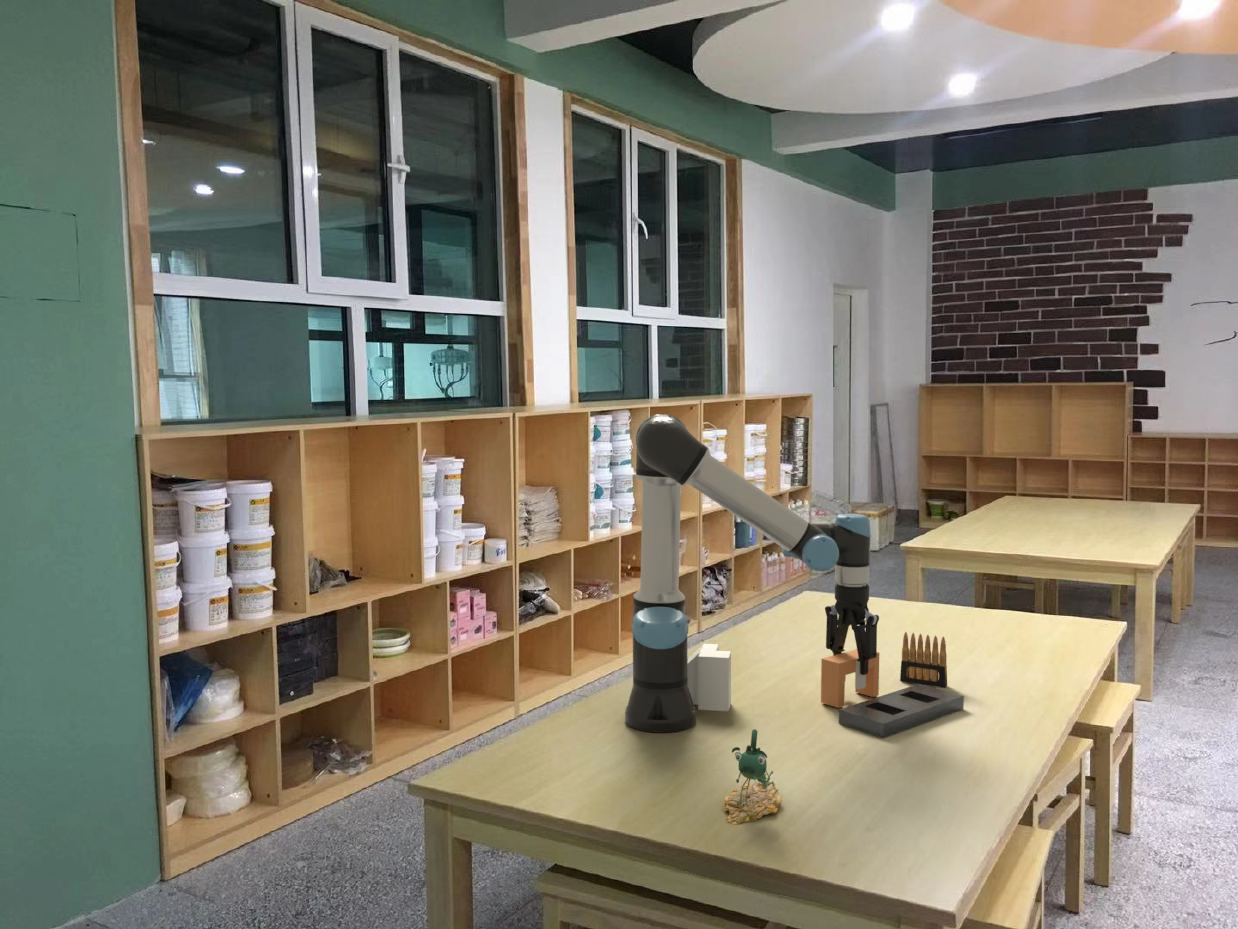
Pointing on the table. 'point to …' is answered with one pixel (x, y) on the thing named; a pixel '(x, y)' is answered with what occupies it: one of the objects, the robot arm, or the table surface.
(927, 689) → the gray slotted base board
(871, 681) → the clip
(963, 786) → the table surface
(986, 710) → the table surface
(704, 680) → the corner bracket
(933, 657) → the ammunition clip
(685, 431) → the robot arm
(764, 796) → the green creature figurine
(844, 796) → the table surface
